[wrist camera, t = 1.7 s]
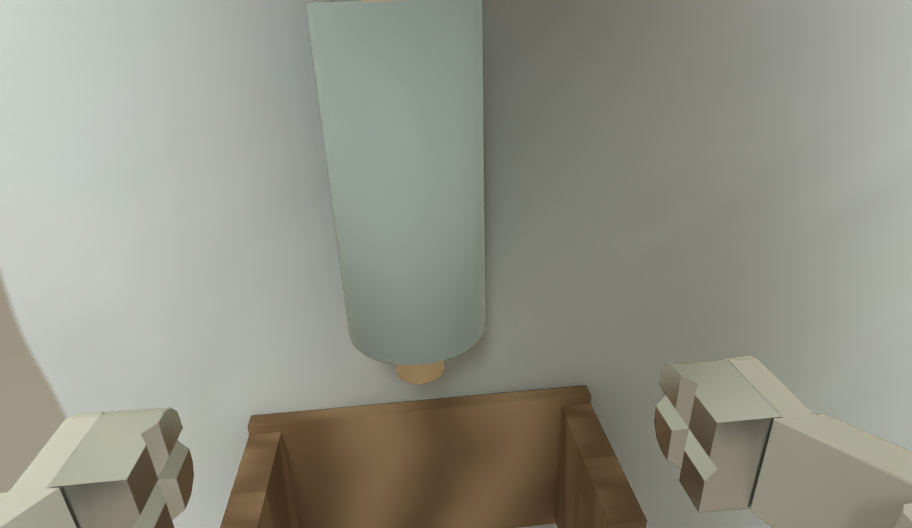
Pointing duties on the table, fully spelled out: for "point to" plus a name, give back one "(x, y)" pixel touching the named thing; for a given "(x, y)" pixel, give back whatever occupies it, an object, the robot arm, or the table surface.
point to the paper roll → (405, 173)
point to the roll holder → (435, 466)
